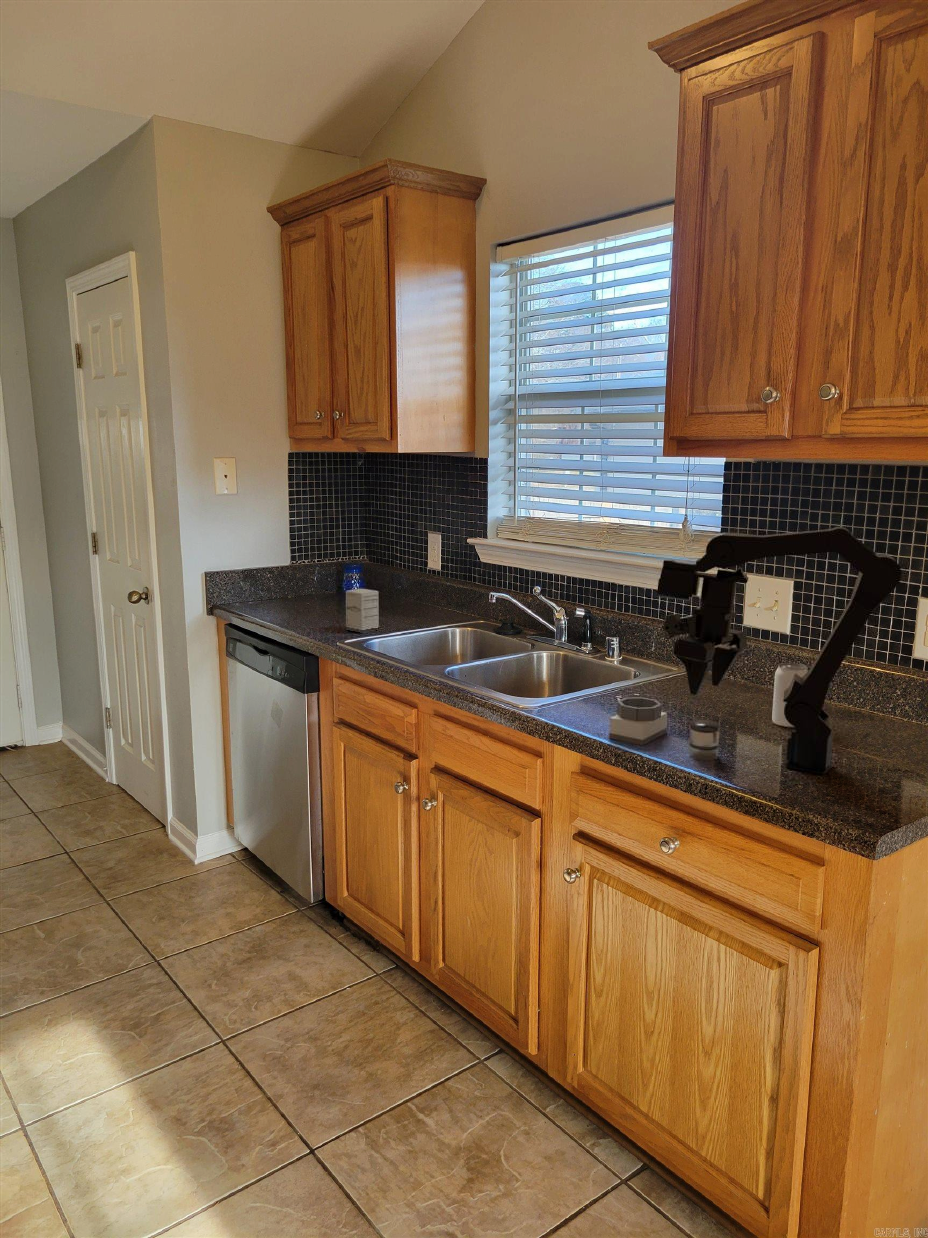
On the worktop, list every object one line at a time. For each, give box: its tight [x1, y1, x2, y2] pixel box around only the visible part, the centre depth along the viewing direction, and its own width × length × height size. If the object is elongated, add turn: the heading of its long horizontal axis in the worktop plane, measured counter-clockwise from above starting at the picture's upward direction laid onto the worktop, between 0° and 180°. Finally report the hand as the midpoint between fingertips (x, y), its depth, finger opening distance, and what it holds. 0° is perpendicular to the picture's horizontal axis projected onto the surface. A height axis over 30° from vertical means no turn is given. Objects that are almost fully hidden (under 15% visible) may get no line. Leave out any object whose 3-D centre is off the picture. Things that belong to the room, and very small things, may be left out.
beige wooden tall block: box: [345, 588, 380, 630], centre depth 279 cm, size 7×7×13 cm
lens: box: [688, 719, 721, 761], centre depth 165 cm, size 5×5×6 cm
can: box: [771, 662, 809, 729], centre depth 184 cm, size 6×6×12 cm
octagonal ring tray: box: [608, 696, 668, 746], centre depth 176 cm, size 8×10×6 cm
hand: (704, 689), depth 163 cm, fingers open, 9 cm apart
